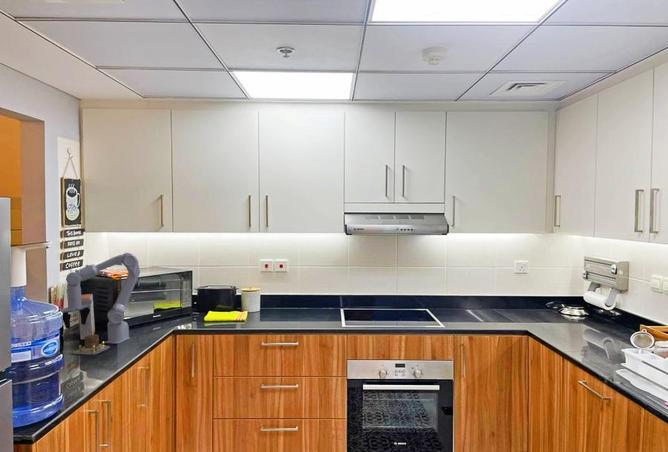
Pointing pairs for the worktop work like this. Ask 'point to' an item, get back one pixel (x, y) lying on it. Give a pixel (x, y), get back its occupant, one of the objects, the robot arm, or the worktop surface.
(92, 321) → the cracker box
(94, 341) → the brown boxy piece
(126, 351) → the worktop surface
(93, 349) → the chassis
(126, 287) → the robot arm
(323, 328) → the worktop surface
